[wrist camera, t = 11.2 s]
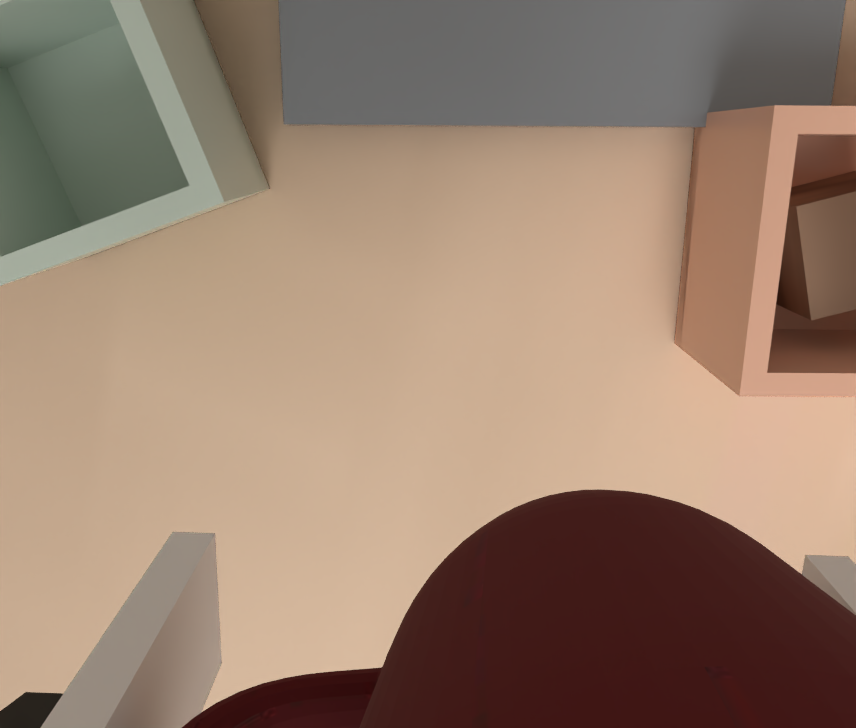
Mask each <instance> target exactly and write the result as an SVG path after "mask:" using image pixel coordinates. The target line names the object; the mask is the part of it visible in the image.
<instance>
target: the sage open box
mask: <svg viewBox="0 0 856 728" xmlns="http://www.w3.org/2000/svg"><path fill="white" fill-rule="evenodd" d="M268 189H269V186H268V184H267V181H266V179H265V176H264V174H263V171H262V169H261V166H260V164H259V161H258V159H257V156H256V154H255V151H254V149H253V146H252V144H251V141H250V139H249V136H248V134H247V131H246V129H245V127H244V124H243V122H242V119H241V117H240V114H239V112H238V109H237V107H236V104H235V102H234V99H233V97H232V94H231V92H230V89H229V87H228V84H227V82H226V79H225V77H224V74H223V72H222V69H221V67H220V64H219V62H218V59H217V57H216V55H215V52H214V50H213V47H212V45H211V42H210V40H209V37H208V35H207V32H206V30H205V27H204V25H203V22H202V20H201V17H200V15H199V12H198V10H197V7H196V5H195V2H194V0H0V286H2V285H5V284H8V283H11V282H14V281H17V280H20V279H23V278H26V277H29V276H32V275H35V274H38V273H41V272H44V271H47V270H50V269H53V268H56V267H59V266H62V265H65V264H68V263H71V262H74V261H77V260H80V259H83V258H86V257H88V256H91V255H94V254H96V253H99V252H102V251H104V250H107V249H110V248H112V247H115V246H118V245H120V244H123V243H126V242H129V241H131V240H134V239H137V238H139V237H142V236H145V235H147V234H150V233H153V232H155V231H158V230H161V229H163V228H166V227H169V226H171V225H174V224H177V223H180V222H182V221H185V220H188V219H190V218H193V217H196V216H198V215H201V214H204V213H206V212H209V211H212V210H214V209H217V208H220V207H222V206H225V205H228V204H230V203H233V202H236V201H239V200H241V199H244V198H247V197H249V196H252V195H255V194H257V193H260V192H263V191H265V190H268Z"/></svg>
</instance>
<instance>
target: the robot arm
mask: <svg viewBox="0 0 856 728" xmlns="http://www.w3.org/2000/svg"><path fill="white" fill-rule="evenodd" d="M802 575H803V576H804V577H806V578H807V579H808V580H810V581H811V582H812V583H813V584H815V585H816V586H817V587H819V588H820V589H821V590H823V591H824V592H825V593H827V594H828V595H829V596H831V597H832V598H833V599H835V600H836V601H837V602H839V603H840V604H841V605H843V606H844V607H845V608H847V609H848V610H849V611H851V612H852V613H853V614H855V615H856V564H855V563H854V562H853V561H852V560H851V559H850V558H849V557H848V556H821V555H805V560H804V566H803V571H802ZM221 664H222V661H221V641H220V621H219V602H218V582H217V562H216V542H215V533H191V532H172V534H171V535H170V537H169V538H168V540H167V541H166V543H165V544H164V546H163V547H162V549H161V550H160V551H159V553H158V554H157V556H156V557H155V559H154V560H153V562H152V563H151V565H150V566H149V568H148V569H147V571H146V572H145V574H144V575H143V577H142V578H141V580H140V581H139V583H138V584H137V586H136V587H135V588H134V590H133V591H132V593H131V594H130V596H129V597H128V599H127V600H126V602H125V603H124V605H123V606H122V608H121V609H120V611H119V612H118V614H117V615H116V617H115V618H114V620H113V621H112V623H111V624H110V625H109V627H108V628H107V630H106V631H105V633H104V634H103V636H102V637H101V639H100V640H99V642H98V643H97V645H96V646H95V648H94V649H93V651H92V652H91V654H90V655H89V657H88V658H87V660H86V661H85V662H84V664H83V665H82V667H81V668H80V670H79V671H78V673H77V674H76V676H75V677H74V679H73V680H72V682H71V683H70V685H69V686H68V688H67V689H66V691H65V692H64V694H59V693H32V692H26V693H24V694H23V695H22V696H20V697H19V698H18V699H16V700H15V701H13V702H12V703H11V704H9V705H8V706H7V707H5V708H4V709H3V710H1V711H0V728H182V727H183V726H184V725H185V724H187V723H188V722H189V721H190V720H191V719H193V718H194V717H195V716H197V715H199V714H200V713H201V712H202V709H203V707H204V704H205V702H206V700H207V697H208V695H209V692H210V690H211V688H212V685H213V683H214V680H215V678H216V676H217V673H218V671H219V668H220V666H221Z"/></svg>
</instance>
